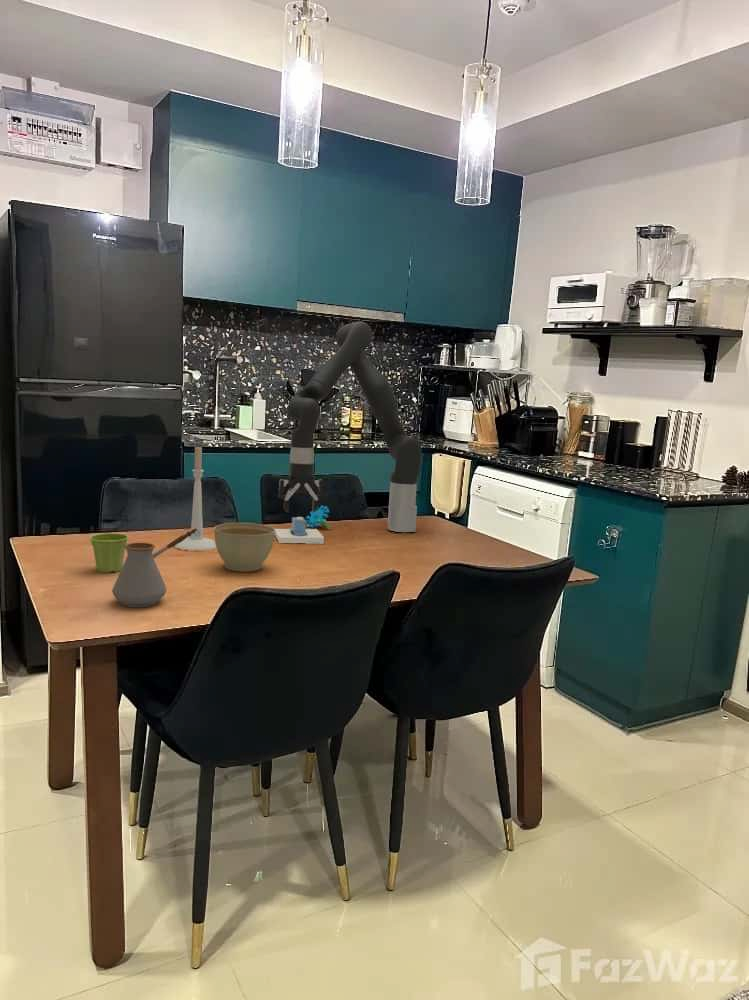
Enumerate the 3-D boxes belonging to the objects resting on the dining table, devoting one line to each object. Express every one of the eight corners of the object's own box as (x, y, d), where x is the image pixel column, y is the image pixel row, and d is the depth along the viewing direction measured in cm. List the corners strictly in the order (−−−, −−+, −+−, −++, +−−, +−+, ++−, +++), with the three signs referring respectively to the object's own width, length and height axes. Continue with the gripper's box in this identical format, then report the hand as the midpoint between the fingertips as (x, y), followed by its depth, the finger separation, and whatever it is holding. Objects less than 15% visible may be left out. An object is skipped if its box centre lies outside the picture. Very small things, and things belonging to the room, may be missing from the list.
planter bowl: (248, 579, 186) (249, 537, 185) (200, 568, 194) (200, 528, 192) (285, 567, 200) (287, 528, 199) (239, 557, 208) (240, 520, 206)
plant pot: (82, 572, 184) (82, 538, 182) (101, 564, 193) (101, 531, 191) (117, 576, 182) (117, 542, 181) (134, 567, 192) (135, 534, 190)
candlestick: (217, 542, 226) (219, 444, 221) (219, 551, 214) (222, 448, 209) (174, 542, 222) (175, 443, 218) (174, 552, 210) (175, 447, 205)
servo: (301, 535, 241) (302, 514, 240) (305, 542, 233) (306, 519, 231) (290, 535, 240) (291, 513, 239) (294, 542, 232) (295, 519, 231)
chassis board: (316, 535, 244) (316, 529, 244) (323, 543, 232) (323, 537, 231) (274, 534, 240) (274, 528, 240) (279, 543, 228) (279, 537, 228)
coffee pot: (130, 613, 155) (131, 544, 153) (101, 601, 162) (101, 534, 160) (212, 595, 172) (214, 532, 169) (182, 584, 179) (183, 524, 176)
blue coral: (299, 520, 259) (319, 500, 260) (309, 530, 262) (329, 511, 264) (311, 530, 250) (332, 510, 251) (321, 541, 253) (342, 521, 254)
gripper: (321, 460, 238) (320, 509, 240) (277, 459, 234) (276, 509, 237) (326, 463, 231) (324, 513, 233) (280, 462, 227) (279, 514, 230)
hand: (300, 511), depth 235 cm, fingers open, 8 cm apart
